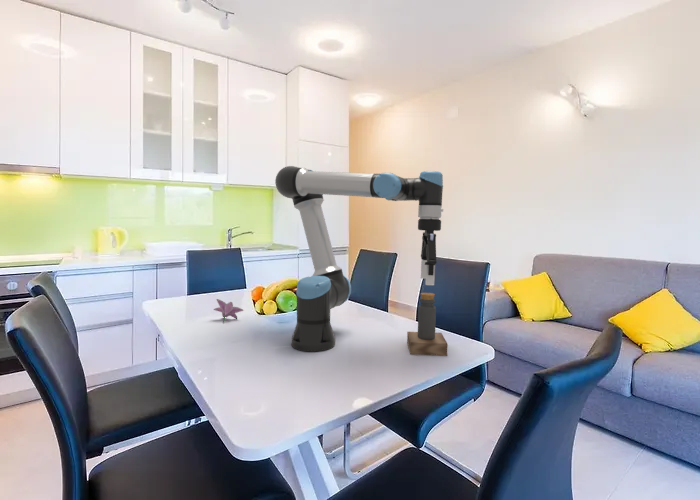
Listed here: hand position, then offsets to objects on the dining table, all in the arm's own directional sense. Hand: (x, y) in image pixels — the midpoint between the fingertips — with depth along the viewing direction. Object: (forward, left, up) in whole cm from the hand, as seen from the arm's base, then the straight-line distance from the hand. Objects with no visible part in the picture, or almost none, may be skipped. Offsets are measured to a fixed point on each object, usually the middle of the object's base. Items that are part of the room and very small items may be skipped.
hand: (427, 281), depth 126 cm
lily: (-81, +26, -23) cm, 88 cm away
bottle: (0, 0, -19) cm, 19 cm away
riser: (0, 0, -23) cm, 23 cm away
